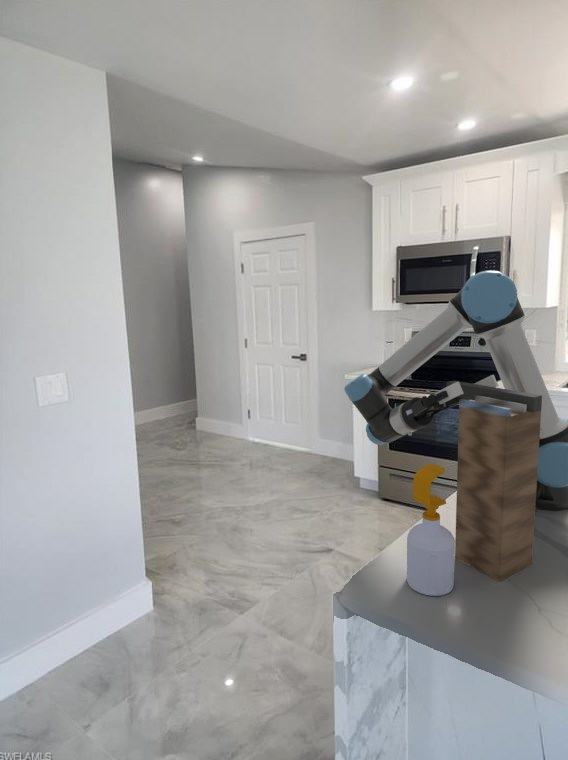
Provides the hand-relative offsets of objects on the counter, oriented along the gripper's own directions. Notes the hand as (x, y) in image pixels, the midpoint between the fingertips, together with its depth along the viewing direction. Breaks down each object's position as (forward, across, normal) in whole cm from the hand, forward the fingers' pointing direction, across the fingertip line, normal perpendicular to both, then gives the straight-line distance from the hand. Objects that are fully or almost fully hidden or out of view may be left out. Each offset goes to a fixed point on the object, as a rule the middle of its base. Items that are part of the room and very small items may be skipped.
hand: (478, 383), depth 109 cm
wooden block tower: (-13, +2, -36) cm, 38 cm away
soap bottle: (-14, +20, -35) cm, 43 cm away
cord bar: (+1, 0, -5) cm, 5 cm away
